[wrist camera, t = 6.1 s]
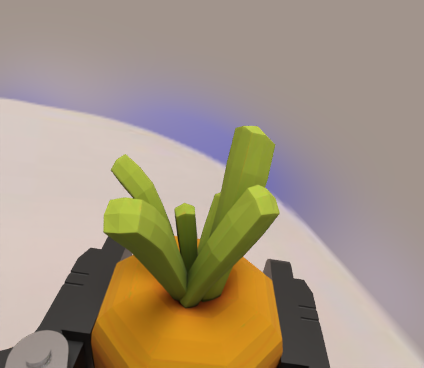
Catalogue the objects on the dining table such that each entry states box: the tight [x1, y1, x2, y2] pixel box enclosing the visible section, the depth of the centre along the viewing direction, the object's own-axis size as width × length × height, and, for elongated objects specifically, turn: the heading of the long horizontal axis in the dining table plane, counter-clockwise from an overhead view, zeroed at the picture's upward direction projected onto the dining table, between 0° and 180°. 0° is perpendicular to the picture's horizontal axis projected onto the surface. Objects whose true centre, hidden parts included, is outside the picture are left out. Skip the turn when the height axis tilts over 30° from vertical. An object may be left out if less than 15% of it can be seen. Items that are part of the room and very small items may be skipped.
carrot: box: [91, 126, 283, 368], centre depth 10 cm, size 5×5×15 cm
